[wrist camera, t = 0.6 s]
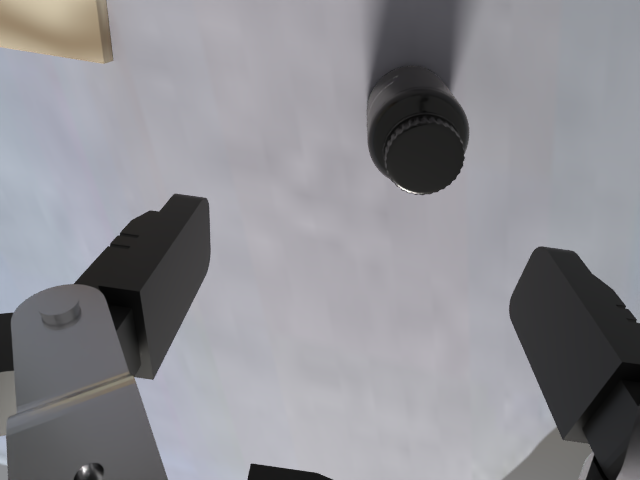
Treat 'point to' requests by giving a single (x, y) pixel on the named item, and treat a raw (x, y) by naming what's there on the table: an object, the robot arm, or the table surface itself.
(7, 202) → the table surface
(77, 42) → the birch board
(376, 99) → the supplement bottle
